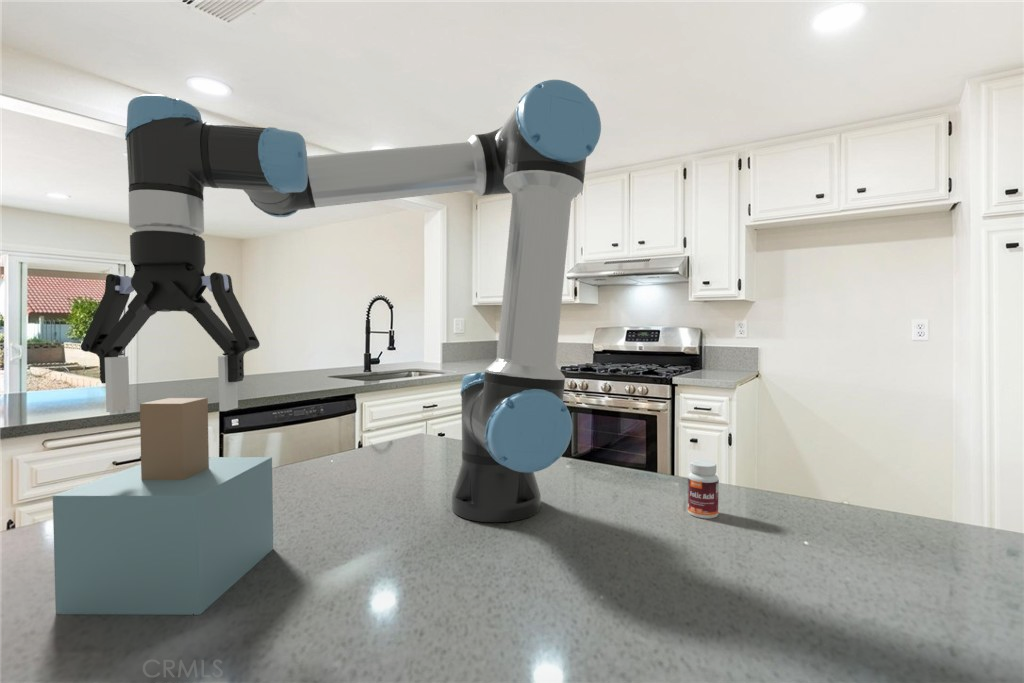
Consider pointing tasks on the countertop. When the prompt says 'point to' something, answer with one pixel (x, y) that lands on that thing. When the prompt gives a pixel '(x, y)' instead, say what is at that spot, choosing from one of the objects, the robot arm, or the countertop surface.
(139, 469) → the pale blue storage box
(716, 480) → the pill bottle
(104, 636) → the countertop surface
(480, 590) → the countertop surface
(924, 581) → the countertop surface
